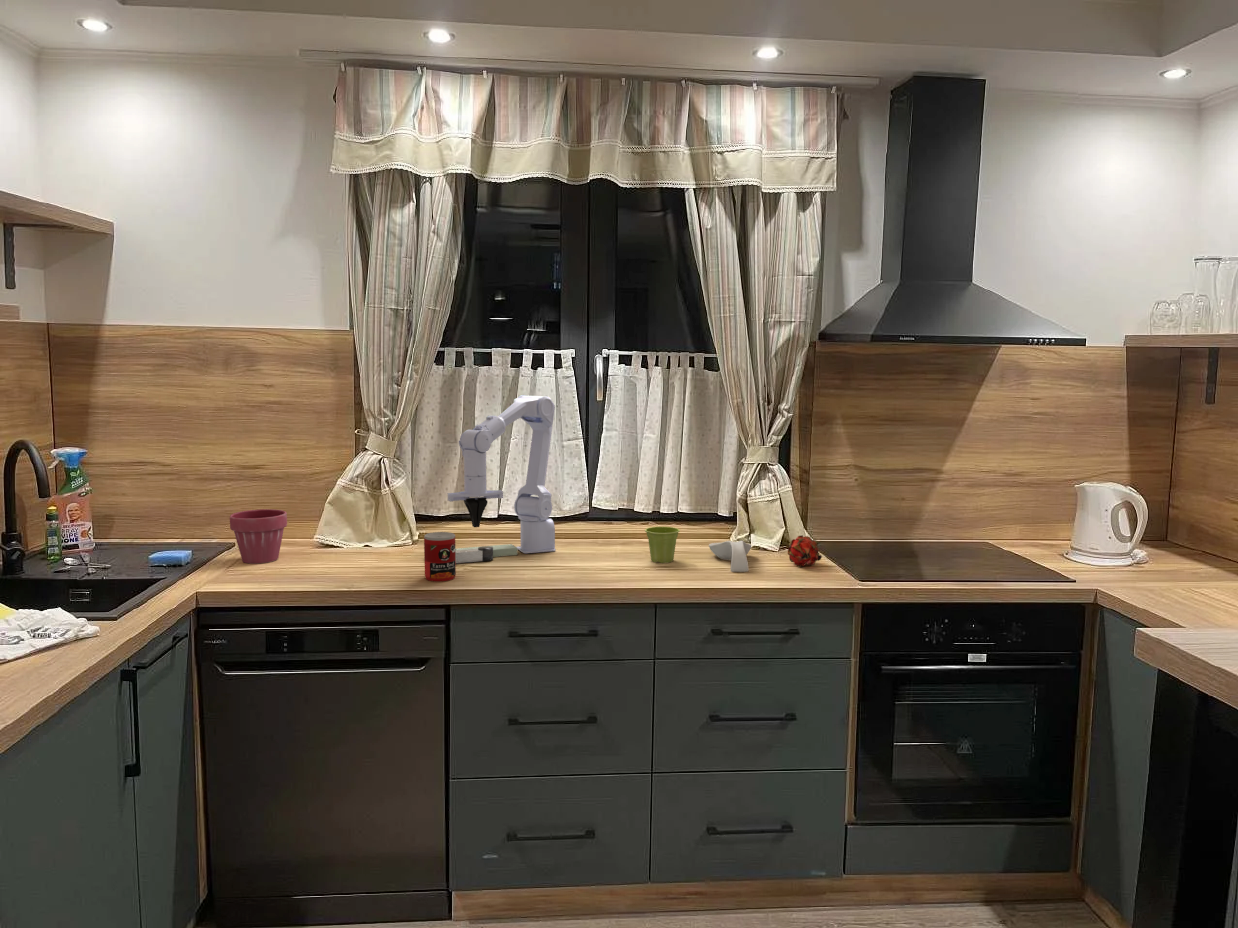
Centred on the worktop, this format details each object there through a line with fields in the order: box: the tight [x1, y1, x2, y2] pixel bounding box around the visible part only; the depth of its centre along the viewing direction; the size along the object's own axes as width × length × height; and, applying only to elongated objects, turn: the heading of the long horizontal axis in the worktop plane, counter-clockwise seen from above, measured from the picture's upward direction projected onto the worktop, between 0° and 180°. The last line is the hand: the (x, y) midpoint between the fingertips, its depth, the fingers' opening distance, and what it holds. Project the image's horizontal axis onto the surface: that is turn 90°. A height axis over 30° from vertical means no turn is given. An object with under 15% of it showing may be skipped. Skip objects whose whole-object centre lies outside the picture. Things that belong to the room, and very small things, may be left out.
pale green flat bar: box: [455, 543, 518, 558], centre depth 257 cm, size 24×5×2 cm, turn 114°
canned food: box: [423, 531, 457, 583], centre depth 232 cm, size 8×8×11 cm
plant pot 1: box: [229, 508, 288, 565], centre depth 250 cm, size 14×14×13 cm
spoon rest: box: [708, 540, 752, 573], centre depth 252 cm, size 24×12×7 cm, turn 3°
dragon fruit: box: [787, 534, 823, 568], centre depth 249 cm, size 8×8×12 cm
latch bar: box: [456, 545, 494, 564], centre depth 250 cm, size 14×4×3 cm, turn 114°
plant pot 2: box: [644, 526, 681, 564], centre depth 252 cm, size 9×9×9 cm
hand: (475, 526), depth 245 cm, fingers closed
